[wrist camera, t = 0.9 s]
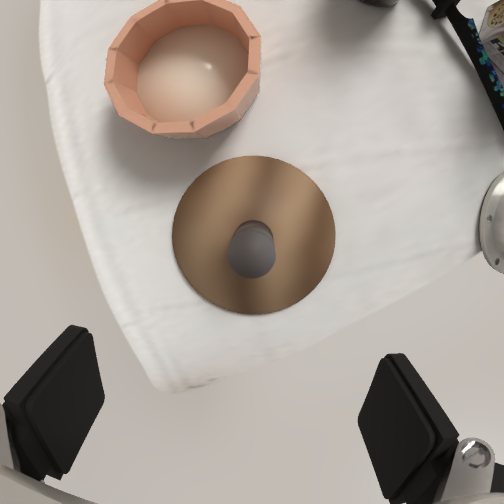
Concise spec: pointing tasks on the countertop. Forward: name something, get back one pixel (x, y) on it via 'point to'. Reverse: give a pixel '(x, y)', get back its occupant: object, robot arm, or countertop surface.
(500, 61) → the coffee box
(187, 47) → the bowl
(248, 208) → the lid
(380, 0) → the supplement bottle
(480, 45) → the knife
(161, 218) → the countertop surface
